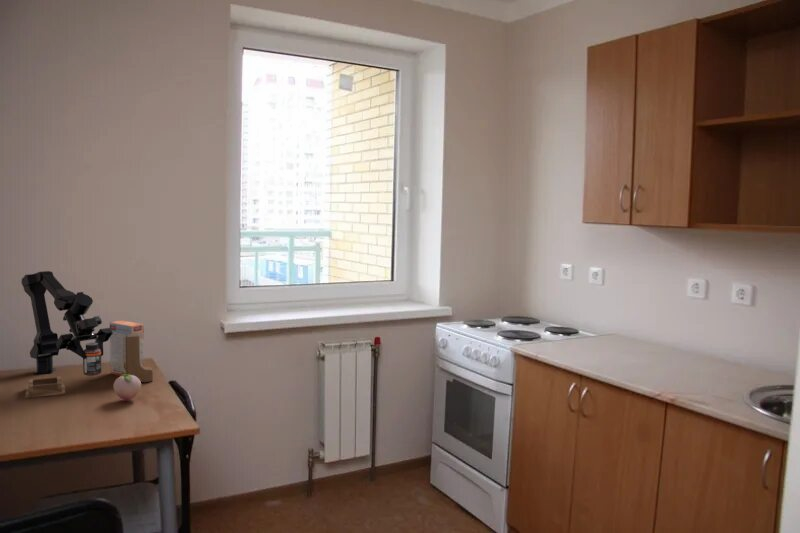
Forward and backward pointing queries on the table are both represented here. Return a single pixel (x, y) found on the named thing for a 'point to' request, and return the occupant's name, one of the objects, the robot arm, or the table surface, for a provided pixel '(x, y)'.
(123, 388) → the decorative fruit
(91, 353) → the supplement bottle
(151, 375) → the wooden block
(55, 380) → the socket
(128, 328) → the cracker box
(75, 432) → the table surface
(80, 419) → the table surface
